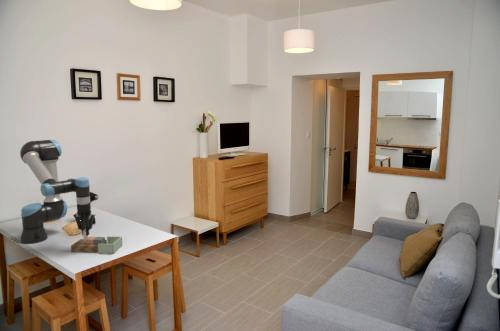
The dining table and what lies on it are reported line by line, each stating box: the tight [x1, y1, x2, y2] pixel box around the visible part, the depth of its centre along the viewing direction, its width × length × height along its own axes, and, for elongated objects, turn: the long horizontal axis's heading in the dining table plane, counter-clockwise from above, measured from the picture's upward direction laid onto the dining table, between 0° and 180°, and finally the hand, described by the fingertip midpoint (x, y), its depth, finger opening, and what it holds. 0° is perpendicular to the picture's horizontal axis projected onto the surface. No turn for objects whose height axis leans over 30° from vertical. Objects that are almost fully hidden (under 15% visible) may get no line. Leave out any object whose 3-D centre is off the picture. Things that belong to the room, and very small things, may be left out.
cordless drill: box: [79, 191, 99, 225], centre depth 264 cm, size 23×7×25 cm, turn 57°
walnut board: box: [70, 238, 108, 254], centre depth 221 cm, size 17×11×4 cm, turn 87°
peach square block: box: [85, 236, 97, 244], centre depth 220 cm, size 5×5×3 cm
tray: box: [98, 235, 123, 255], centre depth 220 cm, size 9×13×6 cm
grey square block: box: [93, 236, 106, 245], centre depth 220 cm, size 5×5×3 cm
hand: (86, 240), depth 220 cm, fingers closed
